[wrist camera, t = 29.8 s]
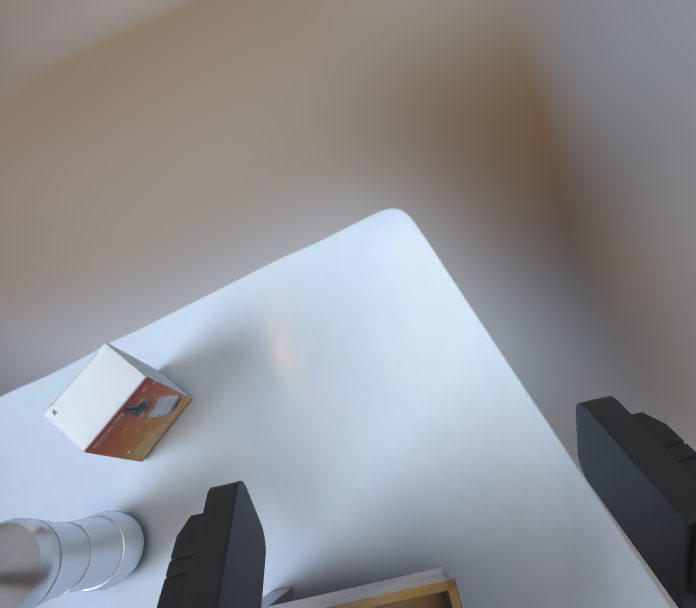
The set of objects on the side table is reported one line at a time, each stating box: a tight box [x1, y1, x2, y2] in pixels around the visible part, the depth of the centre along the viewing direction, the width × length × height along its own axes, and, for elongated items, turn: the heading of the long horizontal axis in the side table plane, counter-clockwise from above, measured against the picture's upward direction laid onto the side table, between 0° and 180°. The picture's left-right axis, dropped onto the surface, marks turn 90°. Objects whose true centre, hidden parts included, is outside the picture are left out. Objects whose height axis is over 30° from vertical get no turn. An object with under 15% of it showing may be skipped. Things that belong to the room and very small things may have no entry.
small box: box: [42, 343, 192, 462], centre depth 48 cm, size 8×6×10 cm
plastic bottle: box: [0, 511, 144, 608], centre depth 39 cm, size 6×7×20 cm
